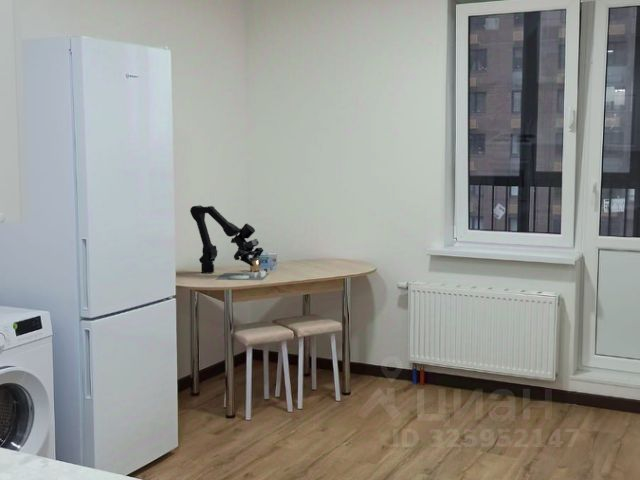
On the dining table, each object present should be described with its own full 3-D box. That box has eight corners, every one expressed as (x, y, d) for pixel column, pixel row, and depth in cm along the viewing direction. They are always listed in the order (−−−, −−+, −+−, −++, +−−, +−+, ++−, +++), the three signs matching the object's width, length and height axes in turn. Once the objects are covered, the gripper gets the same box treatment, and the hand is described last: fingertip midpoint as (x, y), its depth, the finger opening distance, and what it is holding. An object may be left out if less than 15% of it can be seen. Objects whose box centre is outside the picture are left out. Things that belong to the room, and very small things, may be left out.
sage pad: (227, 279, 417) (227, 278, 417) (231, 276, 428) (231, 275, 428) (247, 279, 416) (247, 278, 416) (250, 276, 427) (250, 275, 427)
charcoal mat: (215, 280, 417) (215, 279, 417) (224, 273, 441) (224, 272, 441) (262, 281, 415) (262, 280, 415) (269, 274, 439) (269, 273, 439)
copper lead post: (249, 276, 428) (248, 258, 427) (250, 274, 433) (250, 257, 432) (258, 276, 428) (258, 258, 426) (260, 275, 433) (259, 257, 432)
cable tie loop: (243, 275, 430) (243, 270, 430) (254, 274, 436) (254, 269, 436) (257, 277, 423) (257, 272, 423) (268, 275, 430) (268, 270, 429)
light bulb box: (259, 273, 444) (259, 254, 443) (257, 271, 451) (256, 253, 449) (277, 272, 447) (277, 253, 446) (275, 270, 453) (274, 252, 452)
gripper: (236, 235, 423) (251, 257, 417) (261, 233, 437) (275, 254, 432) (227, 249, 429) (241, 270, 423) (251, 246, 443) (265, 266, 437)
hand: (256, 265), depth 429 cm, fingers closed on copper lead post, 5 cm apart
